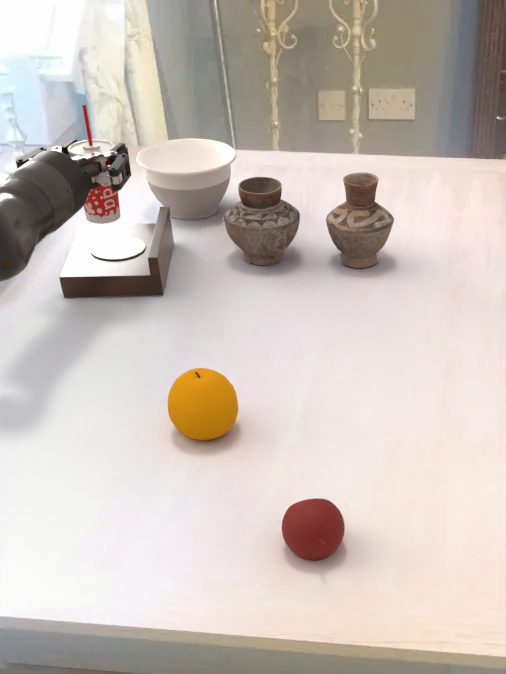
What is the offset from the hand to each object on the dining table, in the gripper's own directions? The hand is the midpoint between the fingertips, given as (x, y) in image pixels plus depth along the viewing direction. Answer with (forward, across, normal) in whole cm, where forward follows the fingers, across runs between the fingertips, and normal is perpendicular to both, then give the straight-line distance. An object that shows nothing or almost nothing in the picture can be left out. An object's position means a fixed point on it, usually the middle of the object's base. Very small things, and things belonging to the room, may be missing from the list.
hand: (99, 149), depth 119 cm
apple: (-35, -25, +18) cm, 46 cm away
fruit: (-53, -42, +18) cm, 70 cm away
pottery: (+12, -25, +18) cm, 33 cm away
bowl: (+26, -2, +18) cm, 32 cm away
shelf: (+3, +1, +18) cm, 18 cm away
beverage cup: (-2, 0, +8) cm, 9 cm away
